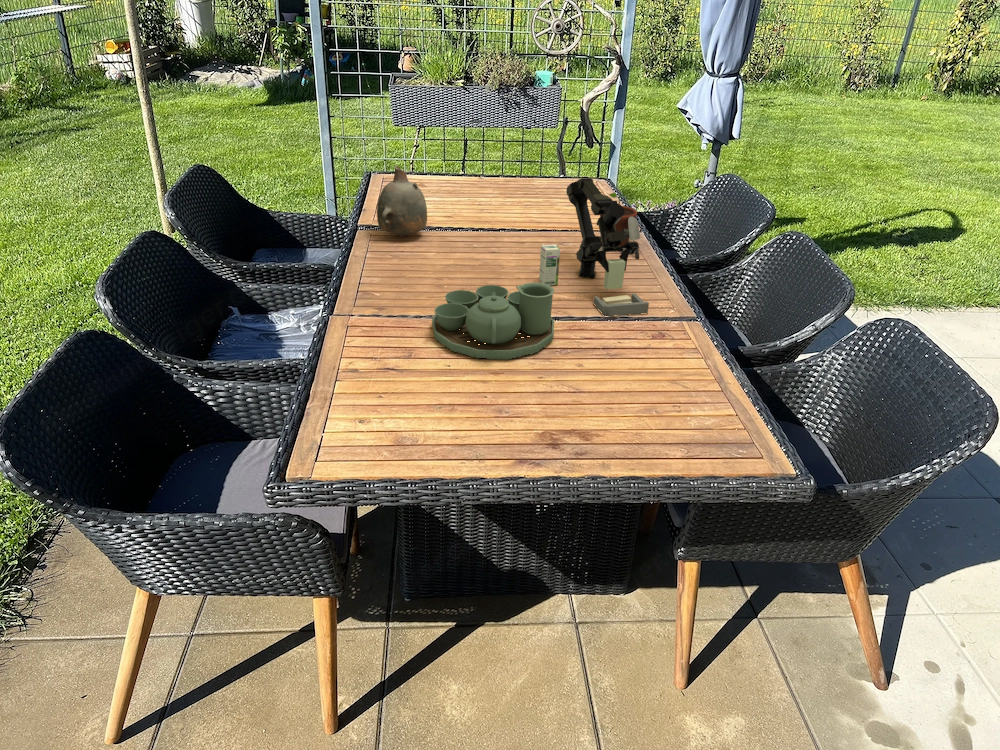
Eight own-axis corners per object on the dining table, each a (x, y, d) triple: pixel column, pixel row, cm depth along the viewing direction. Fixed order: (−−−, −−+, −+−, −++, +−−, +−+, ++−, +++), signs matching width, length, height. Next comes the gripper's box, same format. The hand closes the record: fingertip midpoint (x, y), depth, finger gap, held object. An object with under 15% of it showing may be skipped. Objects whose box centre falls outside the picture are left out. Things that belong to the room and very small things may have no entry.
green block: (603, 286, 251) (606, 259, 246) (618, 285, 253) (622, 258, 247) (606, 289, 249) (609, 263, 244) (622, 288, 250) (625, 261, 245)
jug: (424, 246, 294) (422, 175, 279) (373, 244, 294) (369, 172, 279) (430, 228, 315) (429, 160, 300) (383, 226, 315) (379, 158, 300)
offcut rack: (592, 303, 249) (593, 293, 247) (633, 300, 253) (635, 290, 251) (604, 317, 240) (606, 306, 238) (647, 313, 244) (648, 303, 242)
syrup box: (543, 286, 261) (546, 249, 254) (538, 280, 266) (540, 244, 259) (557, 285, 263) (560, 248, 256) (552, 279, 268) (555, 243, 260)
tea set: (522, 300, 250) (525, 257, 242) (574, 350, 219) (579, 302, 210) (416, 315, 236) (414, 269, 228) (455, 371, 205) (455, 320, 196)
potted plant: (634, 242, 309) (642, 185, 296) (639, 259, 290) (647, 200, 278) (594, 239, 310) (600, 183, 297) (596, 256, 291) (603, 197, 279)
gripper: (591, 221, 240) (599, 263, 236) (640, 219, 244) (649, 260, 241) (580, 236, 250) (588, 276, 247) (628, 233, 255) (637, 273, 251)
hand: (616, 271), depth 246 cm, fingers closed on green block, 6 cm apart
